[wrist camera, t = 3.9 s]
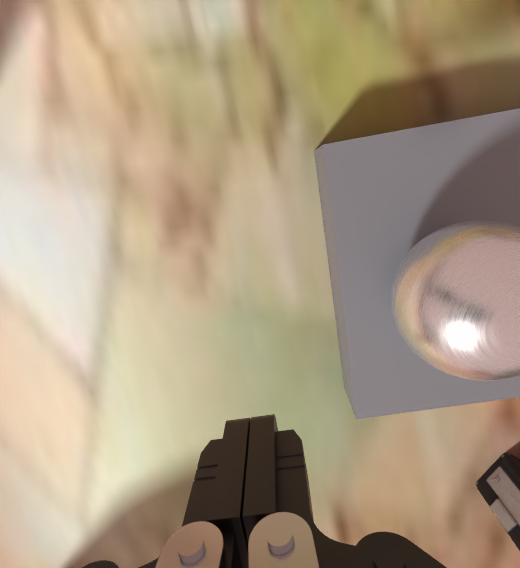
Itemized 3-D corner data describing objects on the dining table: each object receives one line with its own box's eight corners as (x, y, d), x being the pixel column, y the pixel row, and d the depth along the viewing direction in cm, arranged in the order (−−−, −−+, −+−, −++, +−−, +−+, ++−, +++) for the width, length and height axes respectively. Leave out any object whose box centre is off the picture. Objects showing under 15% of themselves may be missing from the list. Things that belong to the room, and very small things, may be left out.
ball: (367, 226, 22) (421, 249, 14) (505, 203, 21) (639, 213, 14) (379, 348, 24) (431, 427, 16) (505, 330, 23) (622, 401, 16)
